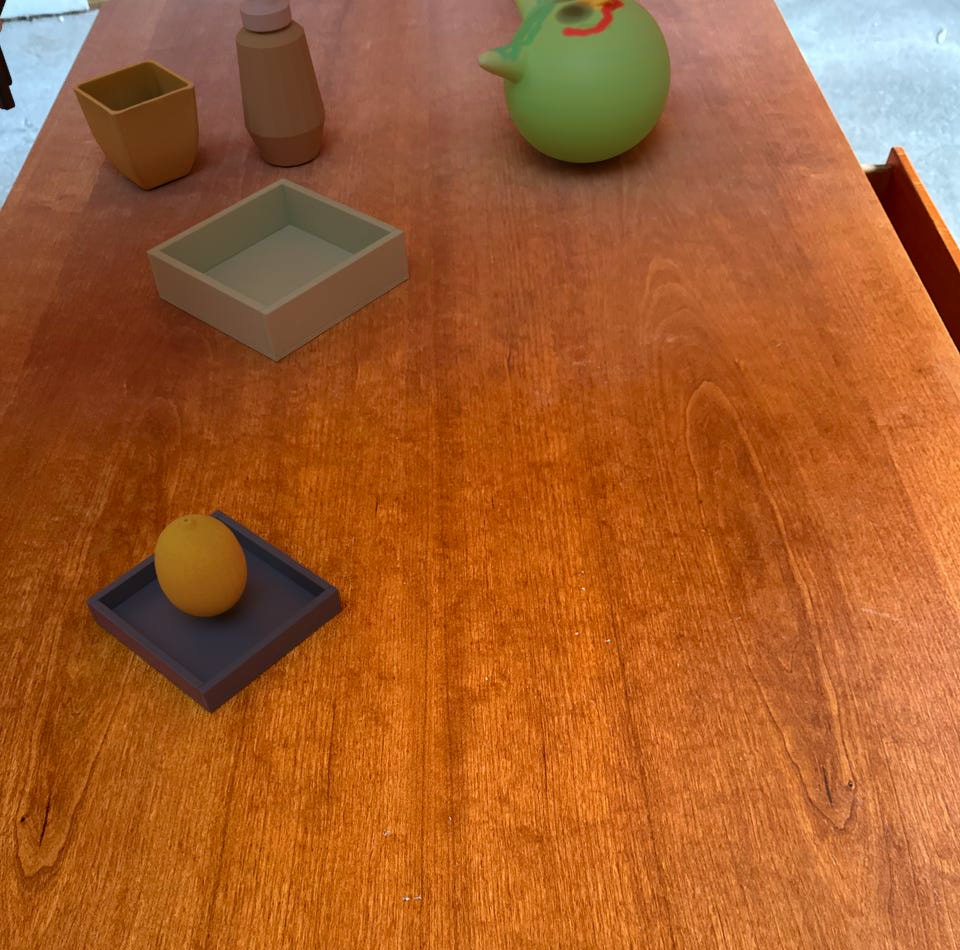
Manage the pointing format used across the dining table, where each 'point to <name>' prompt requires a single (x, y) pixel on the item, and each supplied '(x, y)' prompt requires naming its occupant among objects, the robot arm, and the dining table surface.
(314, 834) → the dining table surface
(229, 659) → the tray
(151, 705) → the dining table surface
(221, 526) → the lemon
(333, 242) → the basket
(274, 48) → the squeeze bottle
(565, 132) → the toy bird
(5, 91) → the robot arm
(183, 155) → the flower pot
